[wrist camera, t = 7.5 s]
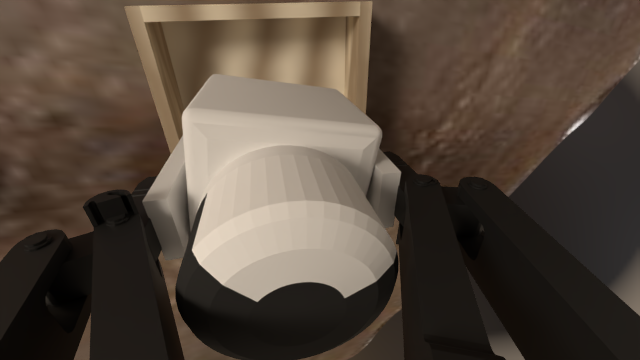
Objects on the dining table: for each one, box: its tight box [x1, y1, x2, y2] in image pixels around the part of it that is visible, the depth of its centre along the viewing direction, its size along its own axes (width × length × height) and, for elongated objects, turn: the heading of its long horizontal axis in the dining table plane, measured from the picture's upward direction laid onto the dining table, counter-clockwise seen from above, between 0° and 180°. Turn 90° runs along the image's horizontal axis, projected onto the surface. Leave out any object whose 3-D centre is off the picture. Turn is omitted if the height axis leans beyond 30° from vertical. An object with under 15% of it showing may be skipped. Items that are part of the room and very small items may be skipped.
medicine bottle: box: [176, 74, 398, 360], centre depth 12 cm, size 7×7×12 cm
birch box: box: [124, 1, 372, 154], centre depth 32 cm, size 22×16×6 cm
